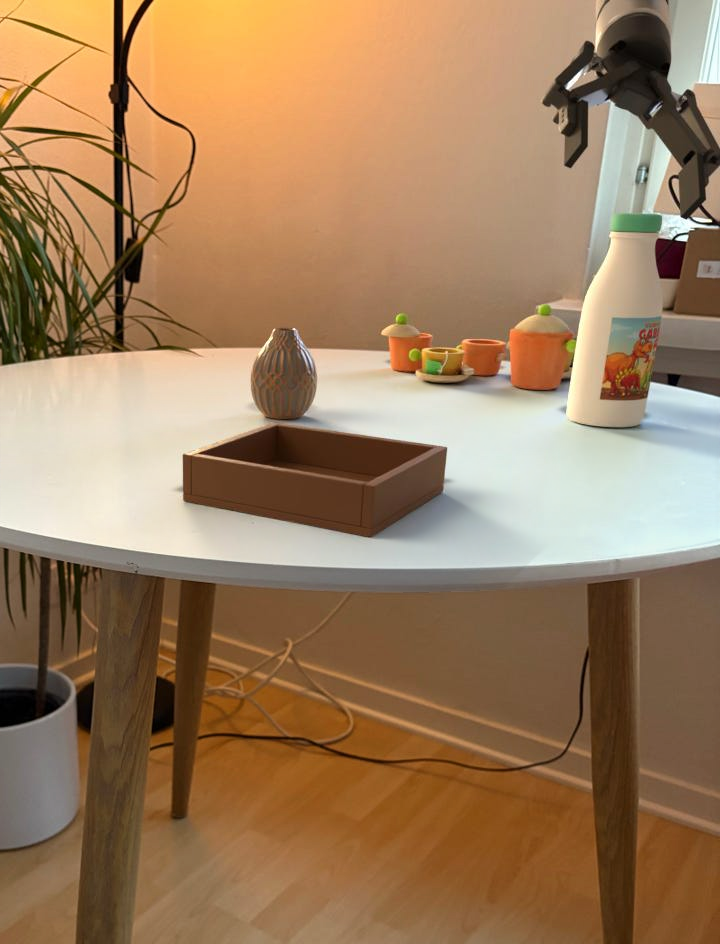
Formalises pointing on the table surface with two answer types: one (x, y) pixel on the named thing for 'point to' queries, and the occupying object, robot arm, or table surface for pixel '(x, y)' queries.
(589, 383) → the milk bottle
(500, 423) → the table surface
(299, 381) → the vase
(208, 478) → the tray
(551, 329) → the toy tea set
